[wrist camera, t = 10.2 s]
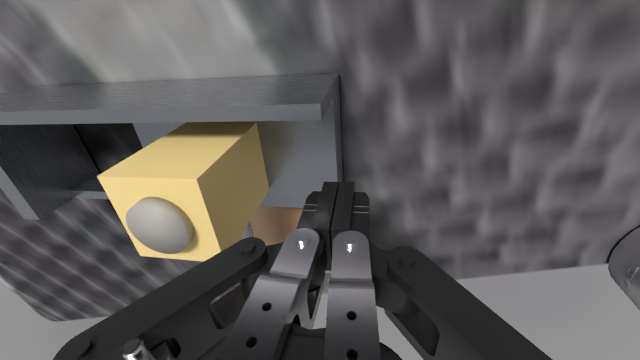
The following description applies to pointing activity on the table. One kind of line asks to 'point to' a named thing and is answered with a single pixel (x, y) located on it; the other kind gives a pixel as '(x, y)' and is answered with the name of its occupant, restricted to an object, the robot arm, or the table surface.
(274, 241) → the pad
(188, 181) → the yellow block with dome
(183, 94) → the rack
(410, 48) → the table surface
